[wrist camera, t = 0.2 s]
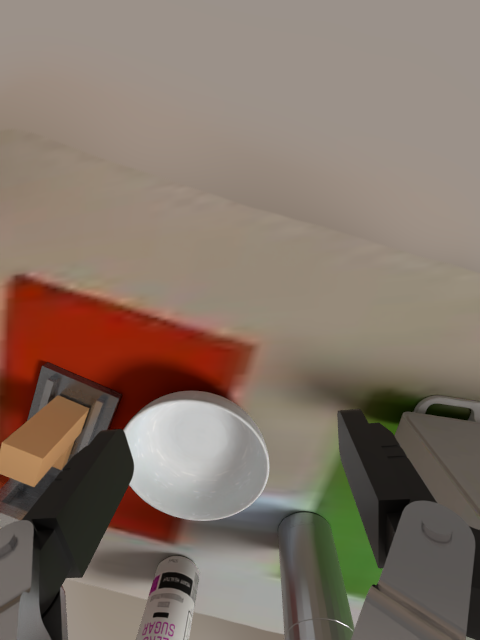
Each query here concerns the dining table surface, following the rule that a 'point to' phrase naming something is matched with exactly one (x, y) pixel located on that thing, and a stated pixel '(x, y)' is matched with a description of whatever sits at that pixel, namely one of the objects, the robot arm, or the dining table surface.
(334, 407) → the dining table surface
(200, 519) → the serving bowl
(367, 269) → the dining table surface
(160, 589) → the supplement can
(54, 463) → the block
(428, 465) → the network device
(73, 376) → the rail
